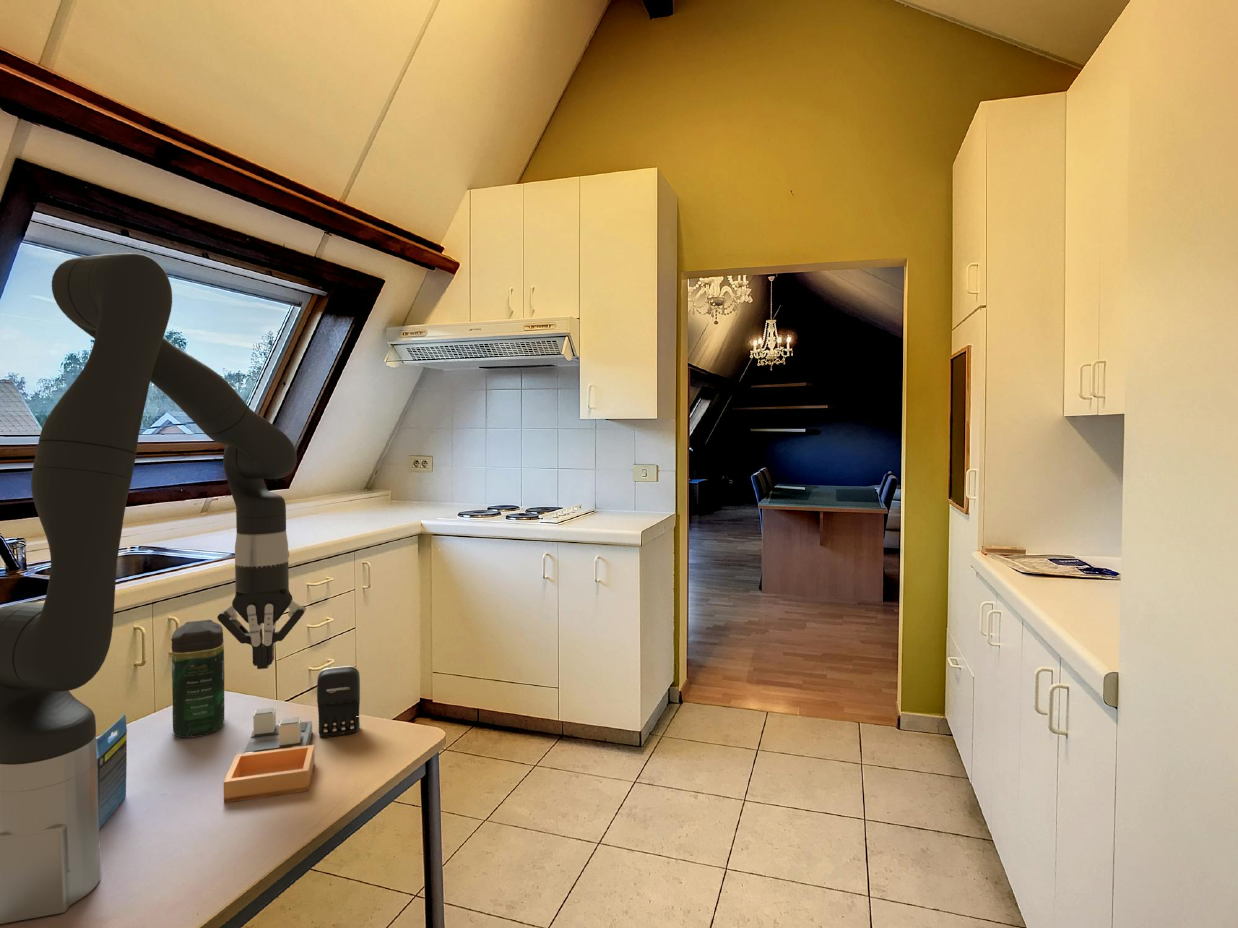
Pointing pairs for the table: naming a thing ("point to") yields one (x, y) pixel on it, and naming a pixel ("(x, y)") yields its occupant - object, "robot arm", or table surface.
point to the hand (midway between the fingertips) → (263, 667)
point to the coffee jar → (197, 678)
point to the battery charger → (338, 700)
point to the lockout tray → (269, 773)
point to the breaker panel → (277, 740)
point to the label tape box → (111, 769)
